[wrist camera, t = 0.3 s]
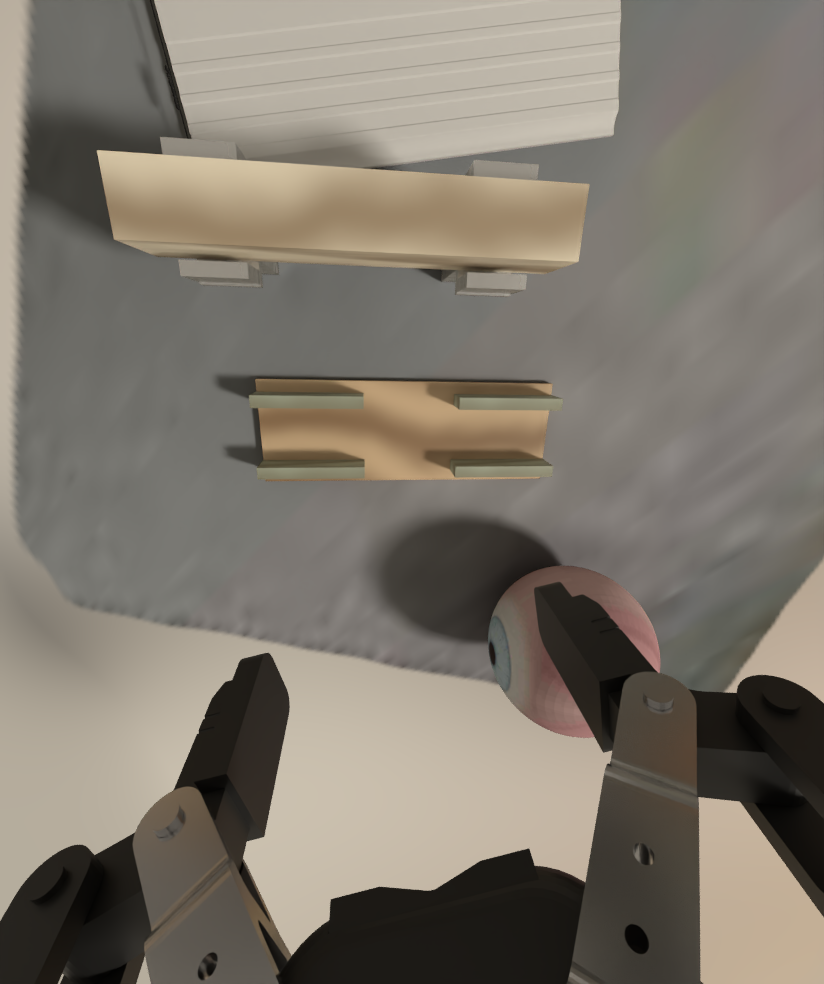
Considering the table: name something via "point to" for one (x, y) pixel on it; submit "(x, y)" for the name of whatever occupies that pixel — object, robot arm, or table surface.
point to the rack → (402, 429)
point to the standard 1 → (215, 269)
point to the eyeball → (526, 659)
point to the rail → (340, 214)
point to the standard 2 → (485, 280)
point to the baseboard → (392, 76)
